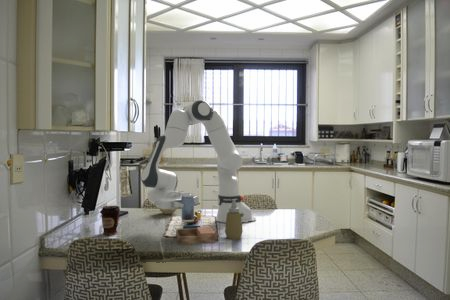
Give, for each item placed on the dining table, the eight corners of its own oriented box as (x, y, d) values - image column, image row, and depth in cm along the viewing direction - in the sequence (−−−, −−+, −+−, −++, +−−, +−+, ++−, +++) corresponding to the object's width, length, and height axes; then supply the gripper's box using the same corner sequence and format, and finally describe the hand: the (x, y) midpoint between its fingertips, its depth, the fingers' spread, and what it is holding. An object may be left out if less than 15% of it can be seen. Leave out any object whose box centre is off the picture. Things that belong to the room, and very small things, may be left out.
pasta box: (210, 233, 147) (210, 226, 147) (215, 240, 137) (215, 232, 137) (196, 234, 145) (196, 227, 145) (200, 241, 136) (200, 233, 136)
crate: (212, 234, 149) (212, 227, 149) (218, 243, 136) (218, 235, 136) (176, 236, 144) (176, 229, 144) (179, 246, 132) (179, 237, 132)
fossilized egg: (157, 216, 182) (157, 191, 181) (157, 212, 194) (157, 188, 193) (179, 215, 185) (179, 190, 184) (177, 211, 197) (177, 187, 196)
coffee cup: (113, 236, 144) (113, 209, 143) (97, 235, 145) (97, 208, 145) (123, 231, 152) (123, 205, 152) (107, 230, 154) (107, 204, 153)
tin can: (192, 218, 142) (193, 192, 142) (194, 222, 137) (195, 195, 137) (180, 219, 141) (181, 193, 141) (182, 222, 136) (182, 195, 135)
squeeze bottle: (224, 236, 145) (224, 198, 145) (241, 236, 146) (241, 198, 145) (225, 242, 137) (225, 201, 137) (243, 242, 138) (244, 201, 137)
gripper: (151, 195, 140) (169, 200, 131) (187, 191, 155) (206, 194, 145) (151, 209, 141) (169, 215, 131) (187, 203, 155) (206, 208, 145)
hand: (189, 204), depth 138 cm, fingers closed on tin can, 5 cm apart
